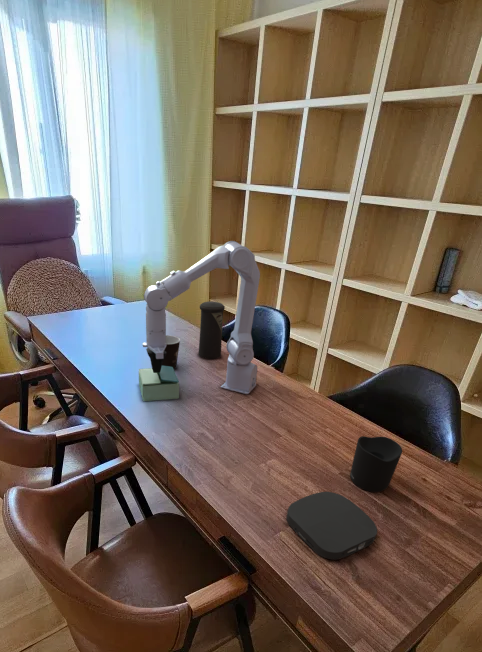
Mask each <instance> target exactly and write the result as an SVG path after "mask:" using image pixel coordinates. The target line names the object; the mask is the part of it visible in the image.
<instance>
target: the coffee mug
mask: <svg viewBox="0 0 482 652" xmlns="http://www.w3.org/2000/svg"><path fill="white" fill-rule="evenodd" d="M180 342H181V339H180V337H178V336H175V335H168V334H166V344H167V346H166V348H165V351H166V356H165V358H164V360H163V363H162V365H163V366H170V367H173V369H174V370H175V369H177V366H178V359H179V351H180V344H181V343H180Z"/></svg>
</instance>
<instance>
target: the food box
mask: <svg viewBox="0 0 482 652" xmlns="http://www.w3.org/2000/svg"><path fill="white" fill-rule="evenodd" d="M138 387H139V391H140V394H141V399H142V401H143V402H151V401H152V402H153V401H167V400H177V399H180V382H179V383H178V382H170V381H162V380H161V377H160V375H159V373H153V370H152V367H148V368H138Z"/></svg>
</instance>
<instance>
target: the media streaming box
mask: <svg viewBox="0 0 482 652" xmlns="http://www.w3.org/2000/svg"><path fill="white" fill-rule="evenodd" d="M286 522H287V524H288V525H289V526H290V528H291V529H292V530H293V531H294V532H295V533H296V534H297V535H298V536H299V537H300V538H301V539H302V541H303V542H304V543H305V544H306V545H307V546H308V547H309V548H310V549H312V550H313V551H314V552H315V553H316V554H317V555H318V556H320V557H322V558H324V559H328V560H332V561H333V560H334V561H336V560H341V559H343V558H346V557H348V556H351V555H353V554H355V553H357V552H359V551H361V550H363V549H365V548H367V547H369V546H370V545H372V544H373V543H374V542H375V540H376V537H377V534H378V527H377V525H376V523H375V522H374V520H373V519H372V518H371V517H370V516H369V515H368V514H367V513H366V512H365V511H364V510H362V508H361V507H360V506H358V505H357V504H355V503H354V502H353V501H351V500H350V499H349V498H347V497H345V496H344V495H342V494H339V493H336V492H331V491H320V492H315V493H312V494H309V495H306V496H303V497H301V498H299V499H297V500H296V501H293V502H292V503H291V504H290V505H289V506H288V508H287V513H286Z"/></svg>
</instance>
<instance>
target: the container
mask: <svg viewBox="0 0 482 652" xmlns="http://www.w3.org/2000/svg"><path fill="white" fill-rule="evenodd" d="M199 310H200V326H199V341H198V356H199V357H200V358H202V359H205V360H216V359H219V358H221V356H222V341H223V340H222V339H223V320H224V310H225V305H224V304H223V303H222V302H218V301H212V300H211V301H204V302H201V304H199Z"/></svg>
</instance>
